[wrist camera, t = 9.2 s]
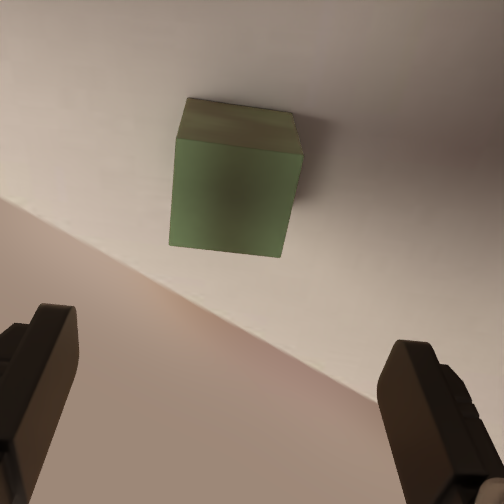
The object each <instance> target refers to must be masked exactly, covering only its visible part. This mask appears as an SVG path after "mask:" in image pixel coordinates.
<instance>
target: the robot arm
mask: <svg viewBox="0 0 504 504" xmlns="http://www.w3.org/2000/svg"><path fill="white" fill-rule="evenodd" d="M78 359H79V342H78V328H77V314H76V309H75V307H74V306H66V305H55V304H46V303H42V304H40V306H39V307H38V309H37V311H36V312H35V314H34V316H33V318H32V320H31V322H30V324H21V323H14V324H12V325H11V326H10V327H9V328H8V329H6V330H5V331H4V332H3V333H2V334H0V504H29V501H30V499H31V496H32V493H33V490H34V488H35V485H36V482H37V479H38V476H39V474H40V471H41V468H42V466H43V463H44V460H45V457H46V455H47V452H48V449H49V446H50V443H51V441H52V438H53V435H54V433H55V430H56V427H57V424H58V422H59V419H60V416H61V413H62V411H63V408H64V405H65V402H66V400H67V397H68V394H69V391H70V388H71V386H72V383H73V380H74V378H75V374H76V371H77V366H78ZM377 400H378V405H379V408H380V412H381V415H382V419H383V422H384V426H385V430H386V433H387V437H388V440H389V443H390V447H391V450H392V454H393V458H394V461H395V465H396V468H397V472H398V475H399V479H400V482H401V486H402V489H403V493H404V497H405V500H406V503H407V504H504V465H503V463H502V461H501V459H500V457H499V455H498V453H497V451H496V449H495V447H494V445H493V443H492V440H491V438H490V436H489V434H488V432H487V430H486V428H485V426H484V424H483V422H482V420H481V419H479V413H478V411H477V409H476V407H475V405H474V404H472V399H471V397H470V395H469V393H468V391H467V388H466V386H465V384H464V382H463V381H462V380H461V379H460V378H459V377H458V375H457V374H456V373H455V372H454V371H453V370H452V369H451V368H450V367H449V366H448V365H444V364H440V363H439V361H438V359H437V357H436V354H435V352H434V350H433V348H432V346H431V345H430V344H429V343H428V342H420V341H410V340H397V341H396V342H395V344H394V346H393V348H392V350H391V353H390V355H389V357H388V359H387V361H386V364H385V366H384V368H383V370H382V373H381V375H380V377H379V380H378V384H377Z"/></svg>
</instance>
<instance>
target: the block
mask: <svg viewBox="0 0 504 504" xmlns="http://www.w3.org/2000/svg"><path fill="white" fill-rule="evenodd" d="M303 159H304V154H303V150H302V147H301V143H300V140H299V136H298V133H297V129H296V126H295V122H294V119H293V115H292V113H287V112H280V111H273V110H267V109H260V108H253V107H246V106H239V105H232V104H226V103H219V102H212V101H205V100H198V99H191V98H187V101H186V104H185V108H184V111H183V115H182V119H181V122H180V126H179V130H178V133H177V137H176V146H175V160H174V175H173V189H172V204H171V218H170V233H169V245H170V246H178V247H187V248H196V249H205V250H214V251H222V252H231V253H240V254H249V255H258V256H267V257H276V258H280V257H281V254H282V249H283V245H284V241H285V236H286V232H287V228H288V223H289V219H290V215H291V210H292V206H293V202H294V198H295V193H296V189H297V185H298V180H299V176H300V172H301V167H302V163H303Z"/></svg>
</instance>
